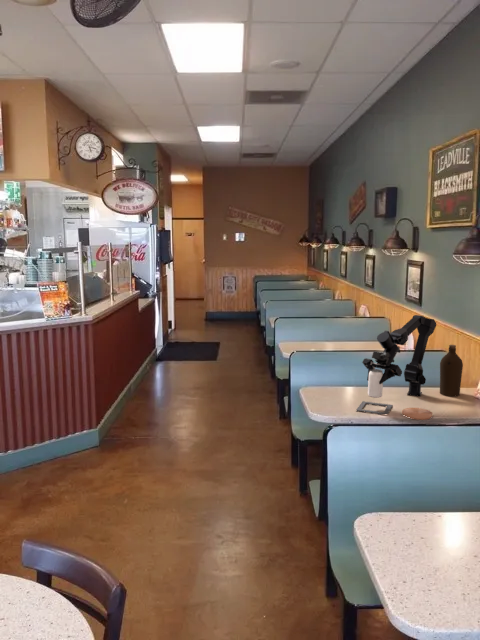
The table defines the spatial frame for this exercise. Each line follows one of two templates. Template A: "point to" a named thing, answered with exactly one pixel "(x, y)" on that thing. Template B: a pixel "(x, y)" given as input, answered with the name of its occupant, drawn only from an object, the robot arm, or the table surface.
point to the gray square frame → (374, 404)
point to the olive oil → (450, 373)
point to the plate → (417, 413)
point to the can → (375, 383)
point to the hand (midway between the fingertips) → (373, 382)
